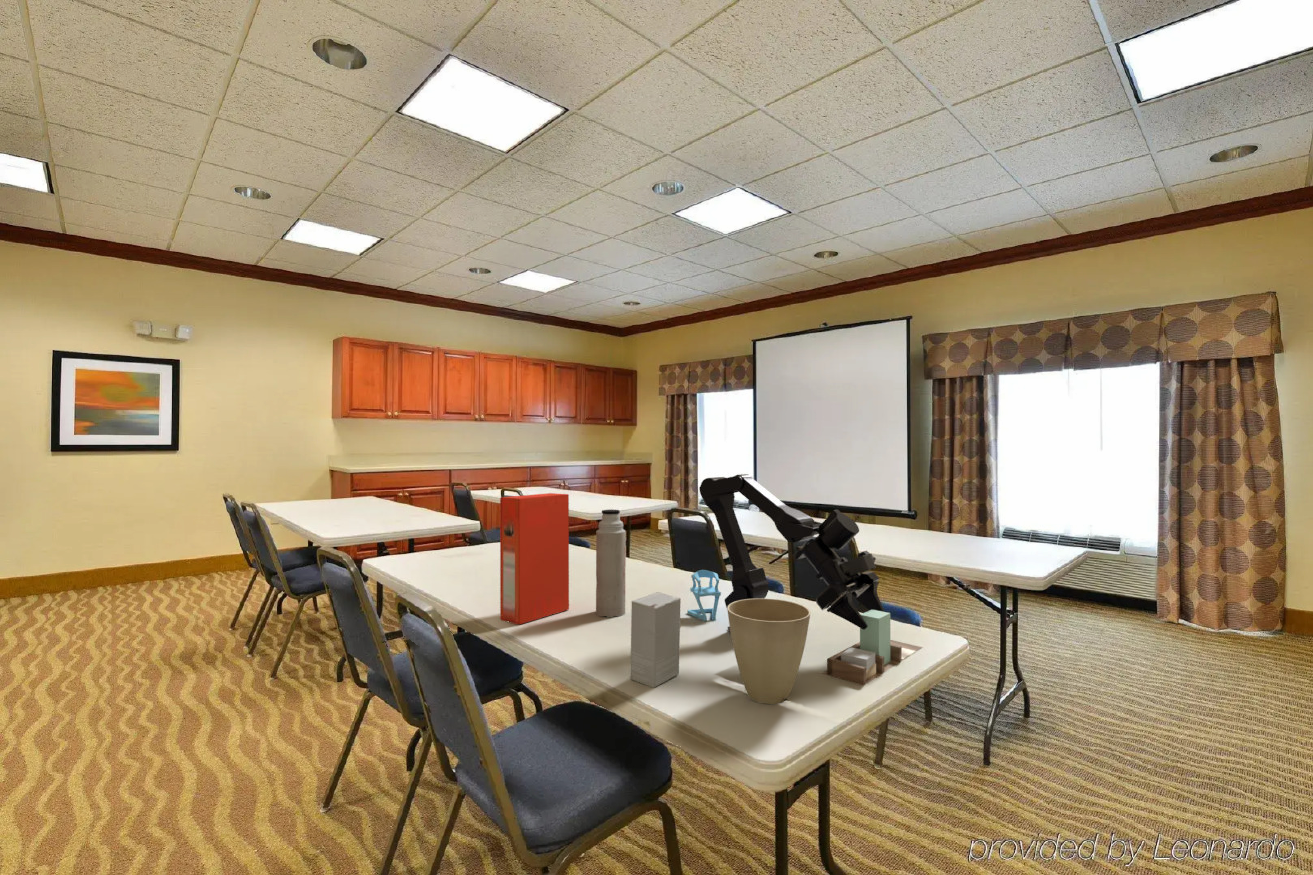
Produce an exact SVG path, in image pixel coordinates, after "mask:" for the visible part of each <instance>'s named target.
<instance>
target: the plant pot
mask: <svg viewBox="0 0 1313 875" xmlns="http://www.w3.org/2000/svg"><path fill="white" fill-rule="evenodd" d="M726 609H727V616H728V624H729V627H730V630H729V631H730V637H731V641H732V647H733V652H734V656H735V660H736V663H737V666H738V672H739V674H740V676H741V681H742V683H743V687H744V690H745V692H746V694H747V696H748V698H749V699H750V700H752V701H754V702H756V703H760V704H765V705H777V704H783V703H785V702H786V701H787V699H788V698H787V697H788V696H790V695H791V692H792V690H793V687H794V684H795V682H796V678H797V675H798V672H799V669H800V666H801V662H802V658H803V655H804V650H805V648H806V647H805V646H806V644H807V643H806V642H807V637H808V631H809V625H810V617H811V611H810V609H809V608H807V607H806V606H804V605H803V604H801V603H798V602H797V603H796V602H793V601H789V600H784V599H777V598H764V599H744V600H739V601H735V602H732V603H731V604H729V605H728V607H727V608H726Z"/></svg>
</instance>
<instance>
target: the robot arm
mask: <svg viewBox="0 0 1313 875" xmlns="http://www.w3.org/2000/svg"><path fill="white" fill-rule="evenodd" d="M735 493H740V494H741V495H742V496H744V497H745V499H747V500H748V501H749V502H751V503H752V504H753V505H754V506H755V507H756V508H758V509H759V510H760V511H761V512H762V513H764V514H765V515H766V516H767V517H769V518H770V520H771V521H773V523H774V525H775V528H776V530H777V531H778V532H779V533H780V534H781V536H782V537H783V539H785V540H786V541H787V542H789V543H793V544H794V543H799V542H805V541H806V542H805V543H804V544H803V545H799V546H796V547H795V554H794V555H795V556H794V559H795V560H801V559H803V558H806V560H807V561H808V562H809V563H810V564H811V566H812V567H813V569H814V570H815V571H816V572H817V574H816V576H815V577H816V578H817V580H823V582H824V583H826V585H827V586H826V587H825V588H824V589H823V590H822V591H821V592H820V593H819V594H817V596H816V597H815V598H816V600H815V601H816V605H817V606H818V607H819V608H820V609H821V611H824V610H826V612H827V613H831V614H833V615H836V616H838V617H840V618H842V619H843V620H845V621H847V622H849V623H851V624H853V625H854V626H856V627H858V628H859V629H860V628H861V629H863V630H864V629H866V628H867V627H868V626H867V624H866V622H865V621H864V619H863V618H862V616H861V615H860V612H859V610H858V608H857V607H856V606H855V604H854V603H853V597H855V599H854V600H855V601H856V602H858V603H859V604H860V605H862V606H863V607H864V608H866V609H867V610H868V611H869V610H877V611H882V612H886V611H885V609H884V606H883V604H882V603H881V600H880V597H879V595H878V586H879V584H880V582H879V580H880V577H879V576H878V575H877V574H876V573H875V571H871V570H875V569H876V568H877V566H876V564H875V561H876V558H877V557H875V556H873V554H872V553H870V552H869V551H868V550H864V551H861V552H858V553H857V557H856V558H852V559H850V560H848V559H847V557H844V556H842V557H840V556H839V555H838V554H837V553H836V552H835V550H834V549H836V550H842V549H843V548H844V547H845V546H846V545H847V544H848V543H850V541H851V540H852V539H853V538H854V537H855V536H856V535H857V534H858V533H859V532H860V527H859V525H858V524H857V523H856V522H855V520H854V519H851V517H849V516H847V515H846V514H844V513H842V512H841V511H840V510H839V509H833V510H832V511H831V512H830V513H829V514H828V516H827V517H826V518H825V520H823V521H822V522H819V521H815V520H814V518H812V517H811V516H809V515H808V514H807V513H804V512H803V511H801V510H798V509H796V508H793V507H791V506H788V505H786V504H785V503H784V502H783V501H781V500H780V499H778V497H776V496H775V495H774V494H773V493H771V492H770V491H768V489H766V488H765V487H764V486H763V485H761V484H760V483H759V482H757V481H756V480H755V479H754V478H753V476H752V475H750V474H748V473H744V474H743V473H742V474H735V475H734V476H729V477H725V476H720V477H719V476H717V477H716V476H715V477H707V478H704V479H702V481H701V483H700V486H699V494H700V496H701V498H702V500H703V502H704V504H705V506H706V507H707V508H708V509H709V510H710V511H711V512H712V513H713V514H714V516H715V519H716V522H717V526H718V528H719V531H720V533H721V537H722V539H723V540H722V541H723V544H724V546H725V550H726V552H727V556H728V557H729V558H728V559H729V561H730V563H731V564H730V565H731V567H732V577H731V586H732V591H731V593H729V595H727V597H725V598H724V604H725V607H726V609H727V607H728V605H729V604H731V603H732V602H735V601H739V600H744V599H766V598H767V595H768V593H769V584H770V582H769V580H768V578H767V577H766V572H765V569H764V567H758V568H757V566H756V565H755V564H754V563H753V560H752V558H751V556H750V553H749V550H748V546H747V544H746V542H745V538H744V536H743V533H742V530H741V526H740V524H739V521H738V518H737V516H736V513H735V510H734V509H735V508H734V504H735V498H736V497H735V496H736V495H735ZM814 536H816V537H815V538H814ZM727 630H728V631H730V626H727Z"/></svg>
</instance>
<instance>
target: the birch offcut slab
mask: <svg viewBox="0 0 1313 875" xmlns="http://www.w3.org/2000/svg"><path fill="white" fill-rule="evenodd" d="M875 674H876V663H874V664H873V665H872V666H871V667H870V668H869V669H867V670H866V680H867V679H868V678H870V677H872V676H873V675H875Z"/></svg>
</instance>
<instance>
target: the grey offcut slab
mask: <svg viewBox="0 0 1313 875" xmlns="http://www.w3.org/2000/svg"><path fill="white" fill-rule="evenodd" d="M849 647H850V648H849ZM849 647H848V648H849V649H847V648H846V649H847V650H846V651H844V652H843V653H842V654H841V661H845V662H848V663H852V664H856V665H859V666H863V667H866V670H867V669H869V668H870V667H871V666H872V665H873V664H874V663H875V652H870V651H866V650H861V649H856V648H852V647H851V646H849Z"/></svg>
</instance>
